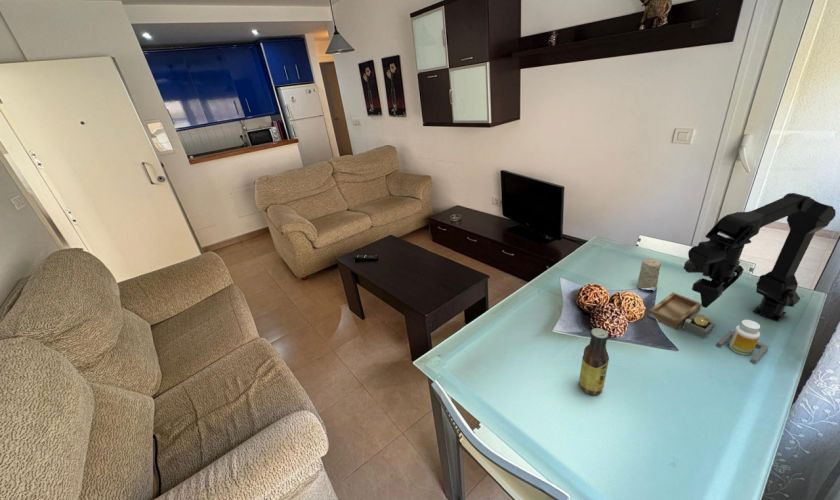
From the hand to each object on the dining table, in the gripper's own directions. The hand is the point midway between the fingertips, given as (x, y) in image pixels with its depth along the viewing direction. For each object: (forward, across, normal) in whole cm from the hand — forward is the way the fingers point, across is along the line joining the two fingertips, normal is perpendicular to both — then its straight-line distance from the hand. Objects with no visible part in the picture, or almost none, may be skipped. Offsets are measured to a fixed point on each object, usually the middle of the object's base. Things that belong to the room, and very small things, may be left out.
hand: (710, 301), depth 104 cm
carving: (+12, -12, -22) cm, 28 cm away
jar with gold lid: (+10, 0, -1) cm, 10 cm away
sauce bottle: (+12, +46, -9) cm, 48 cm away
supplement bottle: (+12, 0, +10) cm, 16 cm away
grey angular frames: (+12, 0, +5) cm, 13 cm away
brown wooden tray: (+12, -4, -9) cm, 15 cm away
